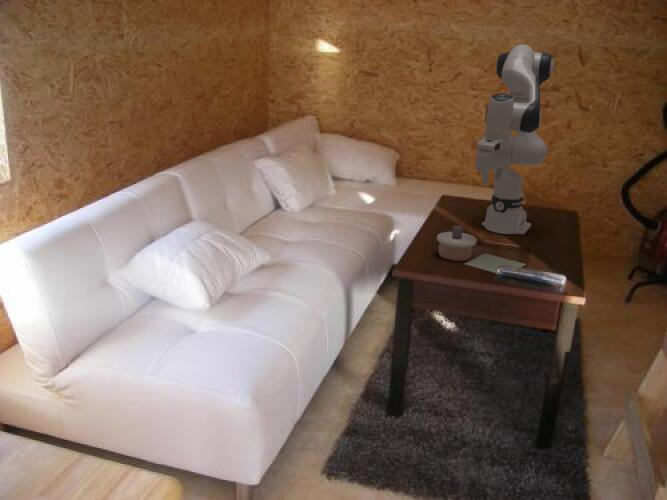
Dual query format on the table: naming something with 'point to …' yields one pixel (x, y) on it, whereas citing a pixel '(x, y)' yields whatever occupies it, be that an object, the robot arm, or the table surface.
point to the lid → (456, 238)
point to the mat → (492, 262)
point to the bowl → (455, 252)
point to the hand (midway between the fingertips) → (491, 181)
